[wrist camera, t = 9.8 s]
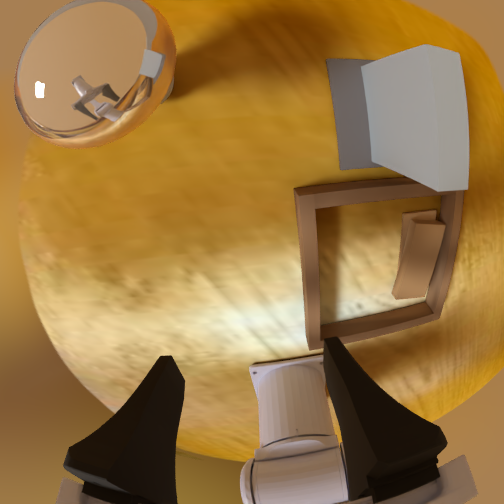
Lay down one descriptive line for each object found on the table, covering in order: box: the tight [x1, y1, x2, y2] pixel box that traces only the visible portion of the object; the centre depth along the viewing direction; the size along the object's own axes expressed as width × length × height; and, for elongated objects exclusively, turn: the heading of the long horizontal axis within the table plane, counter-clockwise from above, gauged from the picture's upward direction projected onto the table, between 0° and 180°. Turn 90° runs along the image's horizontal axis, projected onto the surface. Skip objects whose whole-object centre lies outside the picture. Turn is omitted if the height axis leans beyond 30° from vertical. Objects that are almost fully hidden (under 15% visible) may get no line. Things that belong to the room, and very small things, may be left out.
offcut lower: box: [397, 209, 437, 273], centre depth 21 cm, size 8×4×1 cm, turn 9°
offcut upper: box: [392, 219, 446, 300], centre depth 21 cm, size 7×3×1 cm, turn 0°
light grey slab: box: [361, 44, 469, 192], centre depth 12 cm, size 7×2×8 cm, turn 9°
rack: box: [294, 177, 464, 351], centre depth 21 cm, size 14×14×2 cm
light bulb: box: [14, 0, 177, 149], centre depth 10 cm, size 7×7×12 cm
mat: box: [326, 59, 384, 170], centre depth 16 cm, size 8×7×1 cm
